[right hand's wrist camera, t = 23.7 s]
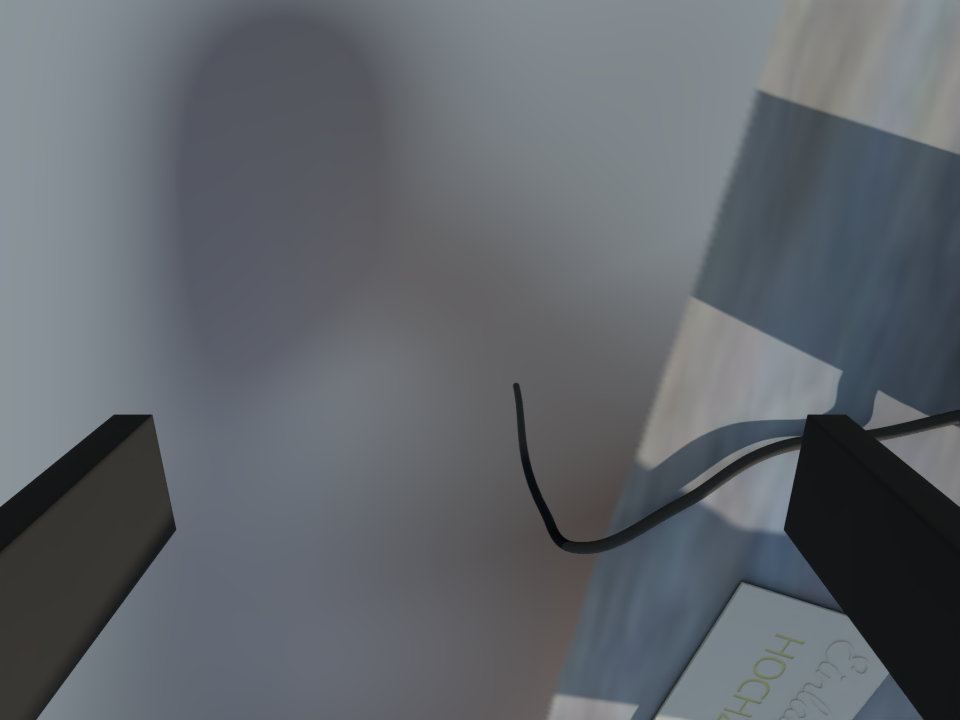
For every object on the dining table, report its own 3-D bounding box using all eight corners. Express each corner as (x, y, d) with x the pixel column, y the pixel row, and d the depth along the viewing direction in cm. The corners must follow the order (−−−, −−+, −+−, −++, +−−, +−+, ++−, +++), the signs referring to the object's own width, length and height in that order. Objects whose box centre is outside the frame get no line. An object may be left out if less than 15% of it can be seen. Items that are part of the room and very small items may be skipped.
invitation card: (743, 584, 46) (917, 639, 48) (741, 581, 46) (915, 636, 48) (620, 774, 53) (776, 815, 55) (619, 770, 54) (774, 812, 55)
